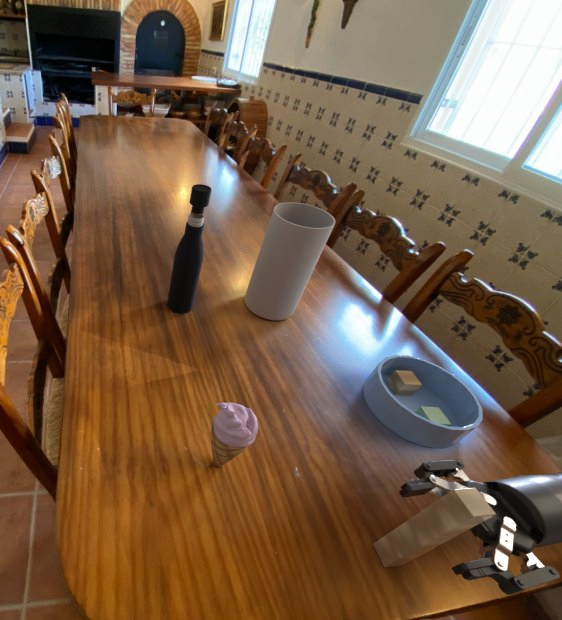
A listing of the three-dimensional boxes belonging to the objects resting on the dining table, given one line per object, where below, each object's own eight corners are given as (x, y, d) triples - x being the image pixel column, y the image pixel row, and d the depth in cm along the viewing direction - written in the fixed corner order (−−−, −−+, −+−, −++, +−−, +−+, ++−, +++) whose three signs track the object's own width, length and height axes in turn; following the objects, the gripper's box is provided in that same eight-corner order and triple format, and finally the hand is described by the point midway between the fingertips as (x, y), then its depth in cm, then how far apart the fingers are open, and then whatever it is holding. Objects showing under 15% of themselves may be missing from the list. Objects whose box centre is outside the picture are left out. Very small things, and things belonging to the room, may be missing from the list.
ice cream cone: (191, 447, 60) (209, 393, 51) (224, 438, 62) (247, 384, 52) (209, 486, 56) (232, 434, 46) (244, 475, 57) (273, 423, 48)
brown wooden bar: (402, 565, 49) (497, 514, 37) (384, 567, 49) (473, 516, 37) (389, 542, 51) (475, 487, 40) (372, 544, 51) (452, 489, 39)
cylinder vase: (266, 286, 98) (299, 198, 82) (303, 312, 90) (347, 221, 74) (233, 299, 93) (261, 208, 76) (270, 328, 85) (309, 234, 69)
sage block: (439, 435, 65) (451, 424, 63) (420, 434, 65) (432, 423, 62) (427, 418, 67) (439, 407, 65) (409, 417, 67) (420, 406, 65)
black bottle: (188, 316, 86) (214, 196, 67) (163, 309, 88) (181, 190, 68) (195, 301, 91) (221, 185, 71) (171, 294, 92) (190, 179, 73)
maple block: (412, 395, 71) (422, 384, 69) (395, 395, 71) (404, 384, 69) (402, 381, 74) (411, 370, 72) (386, 381, 74) (395, 370, 72)
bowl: (482, 450, 64) (507, 432, 60) (390, 446, 63) (409, 427, 59) (425, 376, 76) (442, 357, 72) (348, 372, 76) (361, 352, 72)
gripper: (568, 583, 43) (456, 608, 41) (468, 468, 54) (374, 482, 51) (627, 564, 38) (504, 592, 36) (505, 442, 49) (403, 456, 46)
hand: (428, 527), depth 44 cm, fingers open, 8 cm apart
